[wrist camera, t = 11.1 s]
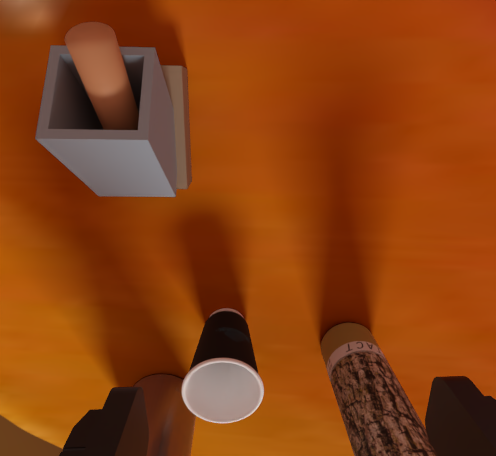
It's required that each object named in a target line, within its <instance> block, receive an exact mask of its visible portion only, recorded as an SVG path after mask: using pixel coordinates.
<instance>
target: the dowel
mask: <svg viewBox="0 0 496 456" xmlns="http://www.w3.org/2000/svg"><path fill="white" fill-rule="evenodd" d="M65 43H66V46H67V48H68V50H69V52H70V55H71V57H72V59H73V62H74V64H75V66H76V68H77V71H78V73H79V75H80V77H81V80H82V82H83V84H84V86H85V89H86V91H87V93H88V95H89V98H90V100H91V102H92V105H93V107H94V109H95V111H96V114H97V116H98V118H99V120H100V123H101V125H102V127H103V129H104V130H138V122H139V112H138V109H137V105H136V102H135V99H134V95H133V92H132V89H131V85H130V82H129V78H128V75H127V72H126V68H125V65H124V62H123V58H122V55H121V52H120V48H119V45H118V42H117V38H116V35H115V32H114V30H113V29H112V28H111V27H110V26H109V25H107V24H104V23H100V22H85V23H81V24H78V25H76V26H74V27H73V28H71V29H70V30H69V31H68V32H67V33H66V35H65Z"/></svg>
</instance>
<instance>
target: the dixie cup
mask: <svg viewBox="0 0 496 456" xmlns="http://www.w3.org/2000/svg"><path fill="white" fill-rule="evenodd" d="M181 391H182V398H183V401H184V403H185V405H186V406H187V408H188V409H189V410H190V411H191V412H192V413H193V414H195V415H196V416H198V417H199V418H202V419H204V420H206V421H210V422H214V423H231V422H235V421H239V420H241V419H244V418H246V417H248V416H249V415H251V414H252V413H253V412H254V411H255V410H256V409H257V408H258V407H259V405H260V403H261V401H262V398H263V394H264V386H263V382H262V380H261V378H260V376H259V374H258V370H257V366H256V361H255V357H254V352H253V347H252V343H251V338H250V333H249V329H248V325H247V322H246V321H245V319H244V317H243V316H242V314H241V313H239V312H238V311H236V310H234V309H230V308H222V309H219V310H216V311H215V312H213V313H212V314H211V315H210V317H209V318H208V320H207V321H206V323H205V325H204V328H203V331H202V334H201V337H200V340H199V343H198V346H197V349H196V352H195V355H194V358H193V361H192V364H191V367H190V370H189V372H188V373H187V375H186V376H185V378H184V380H183V383H182V389H181Z"/></svg>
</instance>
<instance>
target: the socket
mask: <svg viewBox="0 0 496 456" xmlns="http://www.w3.org/2000/svg"><path fill="white" fill-rule="evenodd" d="M119 48H120V52H121V55H122V58H123V62H124V65H125V68H126V72H127V75H128V78H129V82H130V85H131V89H132V92H133V95H134V99H135V102H136V105H137V109H138V112H139V122H138V130H104V129H103V127H102V125H101V123H100V120H99V118H98V116H97V114H96V111H95V109H94V107H93V105H92V102H91V100H90V98H89V95H88V93H87V91H86V89H85V86H84V84H83V82H82V80H81V77H80V75H79V73H78V71H77V68H76V66H75V64H74V62H73V59H72V57H71V55H70V52H69V50H68V48H67V46H56V45H51V48H50V54H49V60H48V66H47V72H46V78H45V83H44V89H43V95H42V101H41V107H40V113H39V119H38V125H37V131H36V137H35V139H36V140H37V141H38V142H39V143H41V144H42V145H43V146H44V147H45V148H46V149H47V150H48V151H49V152H51V153H52V154H53V155H54V156H55V157H56V158H57V159H58V160H59V161H60V162H62V163H63V164H64V165H65V166H66V167H67V168H68V169H69V170H70V171H71V172H73V173H74V174H75V175H76V176H77V177H78V178H79V179H80V180H81V181H83V182H84V183H85V184H86V185H87V186H88V187H89V188H90V189H91V190H92V191H94V192H95V193H96V194H97V195H98V196H135V197H176V189H188V187H189V185H190V183H191V182H192V176H191V151H190V127H189V102H188V77H187V68H185V67H183V66H167V65H160V62H159V59H158V56H157V52H156V49H155V47H119Z"/></svg>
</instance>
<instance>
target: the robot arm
mask: <svg viewBox="0 0 496 456" xmlns="http://www.w3.org/2000/svg"><path fill="white" fill-rule="evenodd" d="M182 383H183V380H182V379H181V378H178V377H175V376H173V375H167V374H156V375H151V376H148V377H145V378H143V379H141V380H140V381H138V382H137V383H136V384H135V385H134V386H133V387H114V388H112V389H111V391H110V393H109V395H108V397H107V400H106V402H105V404H104V406H103V409H99V410H89V411H88V413H87V414H86V415H85V416H84V417H83V418H82V419H81V420H80V421H79V422H78V423H77V424H76V425H75V426H74V427H73V429H72V431H71V433H70V435H69V437H68V439H67V441H66V443H65V445H64V447H63V452H61V453H60V455H59V456H190V455H191V448H192V440H193V433H194V426H195V418H196V415H195V414H193V413H192V412H191V411H190V410H189V409H188V408H187V406H186V405H185V403H184V401H183V398H182V391H181V389H182ZM425 426H426V432H427V435H428V438H429V441H430V443H431V445H432V447H433V449H434V450H435V452H436V454H437V456H496V400H495V399H494V398H492V397H491V396H484V395H483V394H482V393H481V392H480V391H479V390H478V388H477V387H476V386H475V385H474V384H473V382H472V381H471V380H470V379H469V378H467V377H465V376H449V377H436V378H434V380H433V382H432V387H431V392H430V397H429V402H428V407H427V412H426V418H425Z"/></svg>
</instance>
